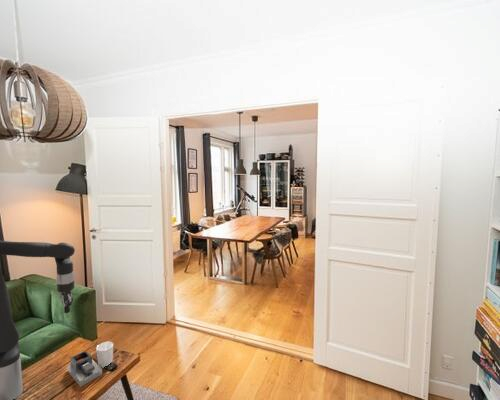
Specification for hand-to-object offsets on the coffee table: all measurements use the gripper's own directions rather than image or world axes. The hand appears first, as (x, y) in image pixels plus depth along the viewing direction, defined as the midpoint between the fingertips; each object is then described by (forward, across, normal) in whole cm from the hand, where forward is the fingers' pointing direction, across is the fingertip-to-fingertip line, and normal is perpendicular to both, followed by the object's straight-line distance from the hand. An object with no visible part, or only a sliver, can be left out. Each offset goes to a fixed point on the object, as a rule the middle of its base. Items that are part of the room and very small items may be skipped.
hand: (66, 312), depth 139 cm
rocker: (+24, +18, +3) cm, 30 cm away
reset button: (+25, +10, +2) cm, 27 cm away
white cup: (+29, +15, +12) cm, 35 cm away
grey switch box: (+29, +14, +3) cm, 32 cm away
